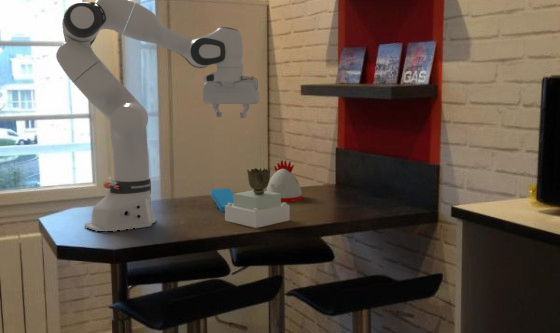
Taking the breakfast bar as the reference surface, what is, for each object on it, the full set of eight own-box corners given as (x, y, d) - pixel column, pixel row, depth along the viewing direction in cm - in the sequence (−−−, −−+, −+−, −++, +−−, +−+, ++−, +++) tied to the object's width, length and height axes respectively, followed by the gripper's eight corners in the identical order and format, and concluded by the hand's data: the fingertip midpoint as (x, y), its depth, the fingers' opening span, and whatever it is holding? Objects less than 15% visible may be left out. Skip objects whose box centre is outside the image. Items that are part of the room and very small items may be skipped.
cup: (257, 191, 213) (257, 167, 212) (274, 193, 209) (274, 169, 208) (242, 194, 208) (242, 169, 207) (259, 196, 203) (259, 171, 202)
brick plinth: (255, 227, 200) (255, 199, 198) (225, 220, 210) (224, 193, 209) (289, 220, 210) (289, 193, 209) (258, 213, 221) (258, 188, 219)
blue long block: (239, 223, 228) (224, 200, 243) (241, 205, 225) (226, 184, 240) (221, 224, 225) (207, 202, 241) (222, 207, 223) (208, 185, 238)
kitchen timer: (292, 203, 239) (292, 163, 237) (259, 200, 245) (259, 161, 242) (307, 197, 251) (307, 159, 249) (275, 194, 257) (275, 157, 255)
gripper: (262, 76, 214) (262, 117, 216) (209, 76, 223) (210, 116, 225) (253, 76, 209) (254, 118, 210) (199, 76, 217) (200, 117, 219)
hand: (230, 117), depth 218 cm, fingers open, 8 cm apart
